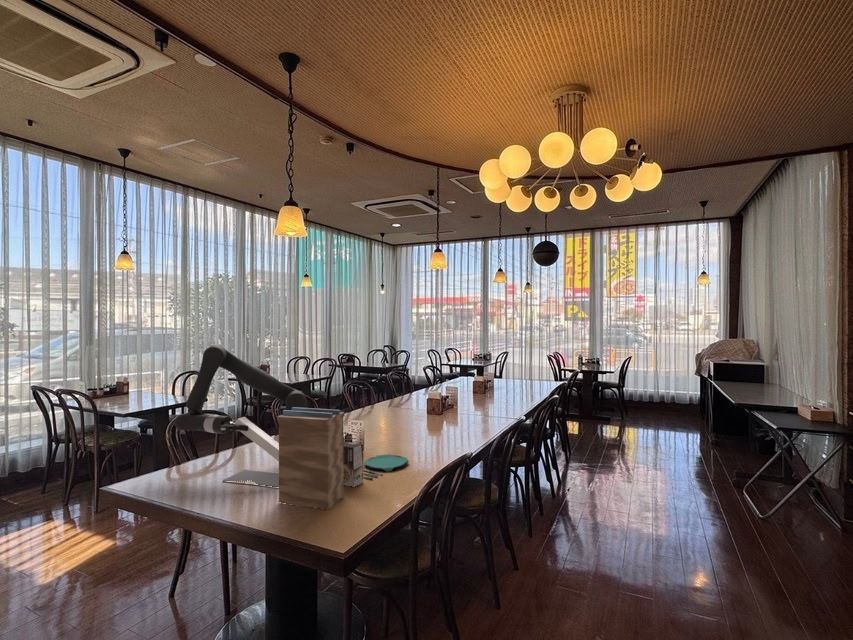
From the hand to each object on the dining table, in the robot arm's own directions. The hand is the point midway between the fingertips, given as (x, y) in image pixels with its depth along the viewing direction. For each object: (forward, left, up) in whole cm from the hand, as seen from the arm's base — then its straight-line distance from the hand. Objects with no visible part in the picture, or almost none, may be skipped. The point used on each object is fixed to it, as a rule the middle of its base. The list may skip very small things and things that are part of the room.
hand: (251, 427), depth 190 cm
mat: (0, +6, -22) cm, 23 cm away
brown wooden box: (+14, +37, -22) cm, 45 cm away
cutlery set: (-28, +47, -22) cm, 59 cm away
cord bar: (0, +4, -6) cm, 7 cm away
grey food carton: (-6, +43, -22) cm, 49 cm away
